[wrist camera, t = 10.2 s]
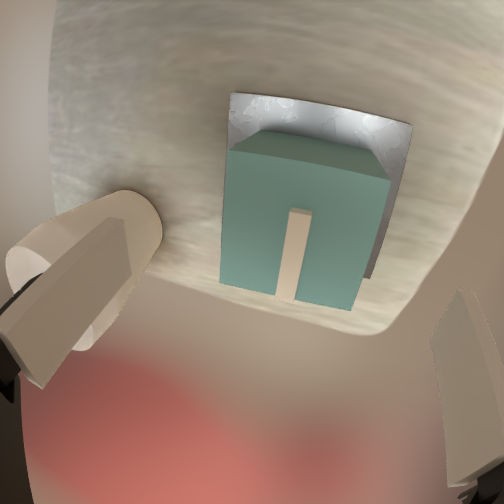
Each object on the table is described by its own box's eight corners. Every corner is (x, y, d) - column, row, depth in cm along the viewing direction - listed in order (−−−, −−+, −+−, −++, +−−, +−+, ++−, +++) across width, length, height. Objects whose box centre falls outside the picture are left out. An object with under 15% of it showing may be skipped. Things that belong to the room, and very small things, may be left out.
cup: (94, 242, 30) (17, 313, 20) (99, 163, 25) (-5, 222, 15) (166, 278, 30) (100, 370, 20) (185, 197, 25) (93, 285, 15)
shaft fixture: (235, 92, 19) (201, 96, 14) (409, 124, 18) (437, 139, 13) (224, 241, 26) (197, 284, 21) (368, 271, 24) (374, 322, 19)
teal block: (260, 130, 19) (223, 152, 13) (371, 151, 18) (393, 184, 12) (249, 229, 23) (216, 289, 17) (348, 249, 22) (350, 318, 16)
